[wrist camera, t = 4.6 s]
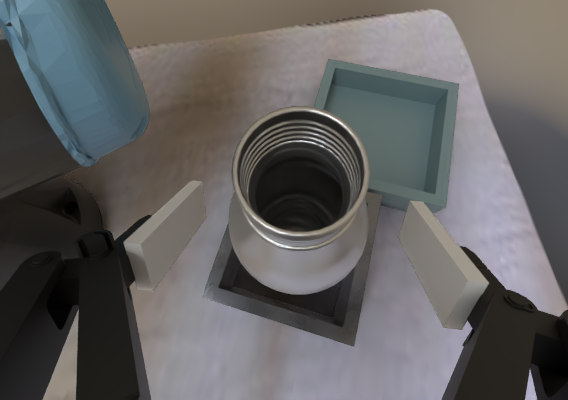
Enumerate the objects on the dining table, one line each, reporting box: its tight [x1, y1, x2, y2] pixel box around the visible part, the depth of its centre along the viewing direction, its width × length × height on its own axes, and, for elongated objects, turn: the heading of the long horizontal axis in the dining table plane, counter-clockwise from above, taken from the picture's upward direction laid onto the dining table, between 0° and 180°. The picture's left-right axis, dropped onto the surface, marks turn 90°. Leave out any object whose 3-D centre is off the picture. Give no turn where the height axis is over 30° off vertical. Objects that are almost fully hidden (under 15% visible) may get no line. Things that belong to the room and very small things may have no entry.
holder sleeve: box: [202, 192, 382, 346], centre depth 23 cm, size 12×12×5 cm
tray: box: [314, 59, 459, 213], centre depth 27 cm, size 14×14×4 cm
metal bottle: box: [229, 106, 370, 295], centre depth 16 cm, size 6×7×20 cm
